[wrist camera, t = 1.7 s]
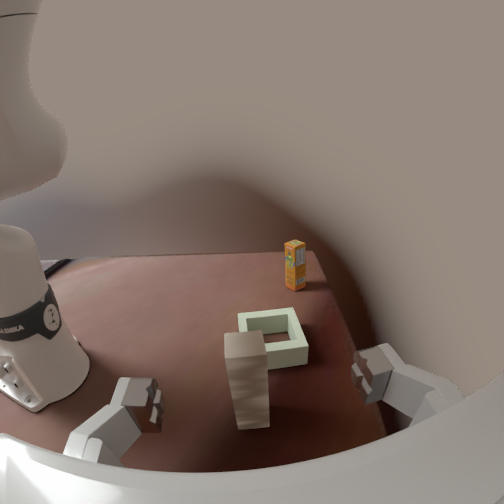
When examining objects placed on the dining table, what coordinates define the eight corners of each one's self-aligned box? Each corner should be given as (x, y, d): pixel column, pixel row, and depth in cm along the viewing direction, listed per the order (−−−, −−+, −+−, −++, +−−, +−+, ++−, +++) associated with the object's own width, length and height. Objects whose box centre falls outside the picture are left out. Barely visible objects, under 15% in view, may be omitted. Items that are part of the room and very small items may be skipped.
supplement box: (284, 287, 58) (283, 242, 55) (296, 281, 60) (295, 238, 56) (294, 292, 56) (294, 246, 52) (306, 287, 57) (307, 242, 54)
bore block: (243, 372, 36) (241, 354, 34) (239, 330, 45) (237, 313, 44) (307, 363, 36) (308, 345, 35) (292, 324, 45) (292, 307, 44)
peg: (238, 429, 26) (224, 358, 22) (236, 407, 30) (224, 333, 25) (269, 426, 27) (266, 354, 22) (265, 404, 30) (261, 329, 26)
